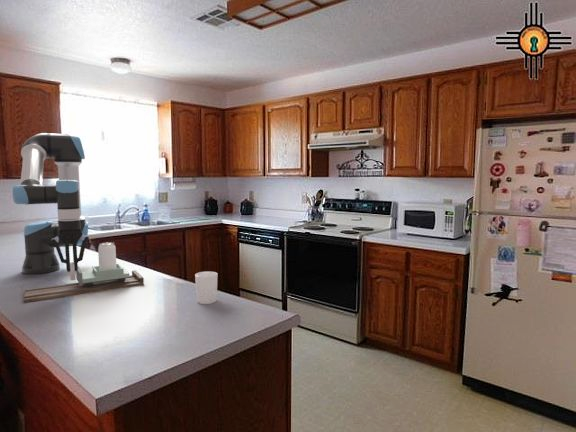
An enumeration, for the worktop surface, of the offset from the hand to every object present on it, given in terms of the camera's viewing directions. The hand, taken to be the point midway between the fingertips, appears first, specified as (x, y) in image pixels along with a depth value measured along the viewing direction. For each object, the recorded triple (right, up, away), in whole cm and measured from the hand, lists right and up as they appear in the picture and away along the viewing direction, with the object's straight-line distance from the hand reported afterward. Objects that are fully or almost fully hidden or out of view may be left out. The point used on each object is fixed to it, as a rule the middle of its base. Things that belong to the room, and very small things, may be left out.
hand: (72, 279), depth 153 cm
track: (+4, -4, +3) cm, 6 cm away
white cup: (+56, -6, -13) cm, 58 cm away
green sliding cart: (+9, -2, +6) cm, 11 cm away
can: (+11, +1, +7) cm, 13 cm away
